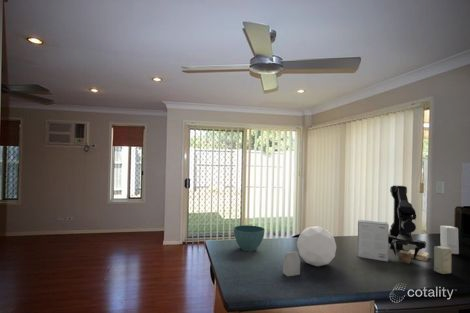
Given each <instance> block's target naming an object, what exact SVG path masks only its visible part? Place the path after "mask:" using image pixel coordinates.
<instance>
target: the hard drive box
mask: <svg viewBox="0 0 470 313" xmlns="http://www.w3.org/2000/svg"><path fill="white" fill-rule="evenodd" d="M389 230H390V227H389V223H388V222H387V221H377V220H364V219H358V220H357V258H362V259H370V260H376V261H382V262H383V261H384V262H389V243H388V238H389Z"/></svg>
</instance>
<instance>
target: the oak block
mask: <svg viewBox="0 0 470 313" xmlns="http://www.w3.org/2000/svg"><path fill="white" fill-rule="evenodd" d="M407 252H411V259H413V258H414V253H415V249H411V248H410V249H409V250H408V251H407ZM429 256H430V254H429V252H427V251H420V250H419V252H418V254H417V256H416V258H415V260H418V261H423V262H427V261H428V260H429Z"/></svg>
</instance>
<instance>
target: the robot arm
mask: <svg viewBox="0 0 470 313" xmlns="http://www.w3.org/2000/svg"><path fill="white" fill-rule="evenodd" d="M389 191H390V194H391V197H392V199H393V222H392V224H390V228H389V238H388V245H390V246H389V249H391V250H392V251H393V254H394V256H397V251H400V250H402V251H403V249H404V248H405V247H404V246H408V245H414V250H415V253H414V259H413V260H416V259H415V258H416V256H417V254H418V252H419V251H420V250H422V249H426V248H427V241H426V240H420V239H417V240H416V241H415V240H413V236H412V233H414V232H415V231H416V229H417V226H416V223H414V221H416V219H417V214H416V210H415V208H414V207H413V205H412V203H410V202H409V199H408V195H407V194H408V187H407V186H405V185H392V186H390V190H389Z"/></svg>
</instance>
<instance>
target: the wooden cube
mask: <svg viewBox="0 0 470 313" xmlns="http://www.w3.org/2000/svg"><path fill="white" fill-rule="evenodd" d="M398 262H401V263H405V264H408V265H409V264H410V263H411V262H412V258H411V252H408V251H406V250H403V249H402V250H398Z"/></svg>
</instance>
